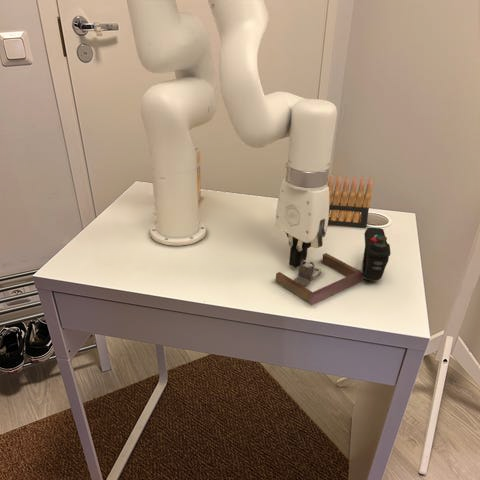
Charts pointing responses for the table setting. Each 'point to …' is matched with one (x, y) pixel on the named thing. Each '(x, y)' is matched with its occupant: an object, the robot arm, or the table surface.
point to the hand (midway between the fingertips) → (297, 264)
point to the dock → (327, 291)
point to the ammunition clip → (349, 203)
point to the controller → (375, 254)
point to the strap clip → (307, 273)
